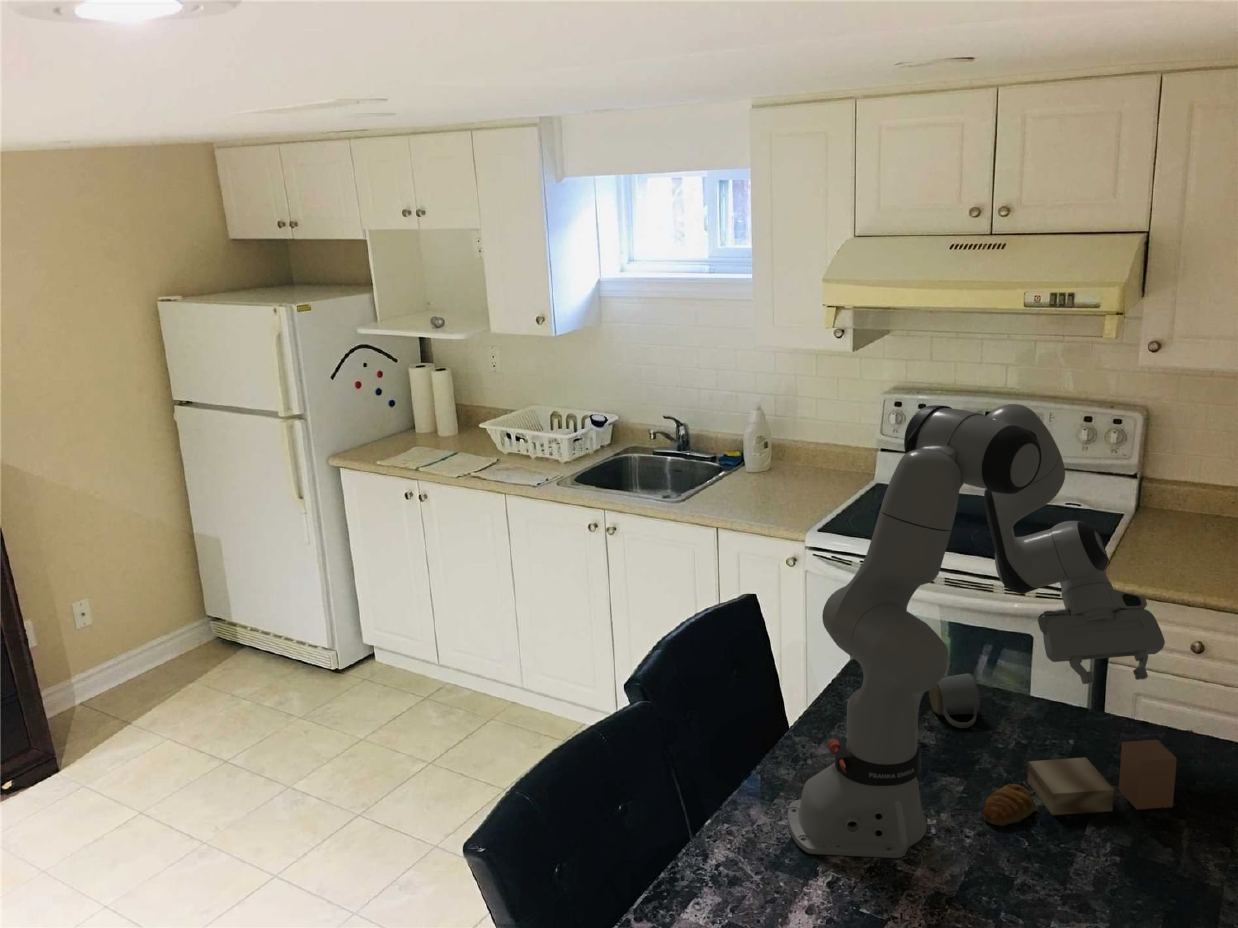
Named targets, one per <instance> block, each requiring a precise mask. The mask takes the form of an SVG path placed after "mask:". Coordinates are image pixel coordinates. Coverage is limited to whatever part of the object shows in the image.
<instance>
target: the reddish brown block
mask: <svg viewBox="0 0 1238 928" xmlns="http://www.w3.org/2000/svg"><path fill="white" fill-rule="evenodd" d="M1119 765H1120V768H1119V782H1118V783H1119V784H1118V790H1119V791H1120V793H1121V794H1122V795H1123V794H1124V795H1125V796H1124V795H1123V796H1124V797H1125V798H1126V799H1127V800H1128V801H1129V803H1130V804H1131V805H1132V806H1133V807H1134V808H1135V809H1136V810H1149V809H1150V810H1151V809H1164V808H1173V807H1174V797H1175V796H1174V795H1175V783H1176V782H1175V781H1176V774H1177V773H1176V772H1177V757H1176V756H1175V755H1174V754H1173V753H1172V752H1171V751H1170V750H1169V749H1168V748H1167V747H1165V745H1163V744H1162V742H1161V741H1159V740H1158V739H1148V740H1147V739H1146V740H1135V741H1133V740H1132V741H1121V750H1120V764H1119ZM1162 807H1163V808H1162Z"/></svg>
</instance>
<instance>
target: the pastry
mask: <svg viewBox="0 0 1238 928" xmlns="http://www.w3.org/2000/svg"><path fill="white" fill-rule="evenodd" d="M1036 809H1037V804H1036V802H1035V799H1034V798H1033V796H1032V795H1031V792H1030V791H1029V790H1028V789H1026V788H1025V787H1024V786H1022V785H1020V784H1015V783H1014V784H1012V783H1008V784H1007V785H1006V784H1005V785H1003V786H1002V787H1001V788H998V789H996V790H995V791H994V792H992V793H991V794H990V795H989V797H988V798H987V799H986V801H985V803H984V808H983V809H982V815H983V820H984V821H985V822H988V823H990V824H992V825H996V826H999V827H1005V826H1007V825H1011V824H1018V823H1021V821H1023V820H1024V819H1026V818H1028V817H1030V816H1031V815H1032V814H1033V813H1034V812H1035V810H1036Z"/></svg>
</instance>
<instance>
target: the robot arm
mask: <svg viewBox="0 0 1238 928" xmlns="http://www.w3.org/2000/svg"><path fill="white" fill-rule="evenodd" d="M903 440H904V441H903V447H904V455H903V456H902V457H901V459H900V460H899V462H898V464H897V466H896V468H895V470H894V472H893V474H892V475H891V478H890V480H889V483H888V486H887V488H886V491H885V494H884V497H883V500H882V503H881V506H880V508H879V509H880V510H879V513H878V516H877V520H876V523H875V526H874V531H873V534H872V537H871V540H870V544H869V546H868V549H867V553H866V554H865V558H864V559H863V562H862V563H861V565H860V567H859V568H858V570H857V572H856V573H855V575H854V576H853V577H852V579H851V580H850V581H849V582H848V583H847V584H846V585H845V586H842V587H841V588H838V589H837V590H835V591H834V592H833V593H831V595H830V596H829V597H828V599H826V602H825V604H824V607H823V609H822V617H821V618H822V624H823V627H824V629H825V630H826V632H827V633H828V635H829V636H830V638H831V640H832V641H833V642H834V643H835V644H836V646H837V647H838V648H839V649H840V650H842V651H843V652H844V653H846V654H847V655H849V656H850V657H851V658H853V659H854V660H855V661H857V662H858V663H859V665H860V667H861V670H862V674H863V676H862V677H863V678H862V680H863V681H862V683H861V684H862V685H861V687H860V688H858V689H857V690H856V691H854V692H853V693H852V694H851V695H850V697H849V698H848V700H847V703H846V740H845V742H844V743H843V744H842V745H840V742H839V740H838V739H836V738H830V739H829V740H828V742H827V744H826V746H827V748H828V750H829V753H830V754H831V755H833V756H834V762H833V763H831V764H830V765H828V766H826V768H824V769H823V770H821V771H820V772H818V773H817V774H815V775H813V776H811V777H810V778H808V780H806V782H805V783H804V786H803V788H802V793H801V797H800V799H796V800H793V801H792V802H791V803H790V804H789V805H788V806H789V807H788V809H787V815H786V816H787V817H786V823H787V827H788V830H789V832H790V835H791V837H792V839H793V841H794V842H795V844H796V845H797V846H798V847H799V848H800V849H801V850H803V851H804V852H806V853H807V854H810V855H825V856H826V855H827V856H829V855H830V856H844V857H845V856H848V857H867V858H886V859H887V858H889V859H900V858H903V857H904V856H905V855H906V853H907V852H908V850H909V848H910V847H912V846H913V845H915V844H917V842H920V840H922V838H923V837H925V835H926V832H927V830H928V826H927V825H928V824H927V821H926V818H925V815H924V812H923V806H922V803H921V796H920V795H921V794H920V789H919V787H920V786H919V781H920V778H921V777H920V776H921V771H922V769H921V766H922V762H921V750H920V747H919V746H918V728H919V727H918V726H919V712H920V711H919V710H920V706H921V702H922V699H923V697H924V694H925V693H926V692H929V690H930V689H932V688H933V687H935V686H936V685H937V684H938V683H939V682H940V681H941V679H942V678H943V677H945V674H946V672H947V670H948V667H949V662H950V655H949V654H950V653H949V649H948V647H947V645H946V644H945V642H944V641H943V640H942V638H941V636H939V634H937V633H936V631H935V630H934V629H933V628H932V627H931V626H930V625H929V624H927V622H925V621H923V620H922V619H920V618H919V617H917V616H915V615H914V614H912V613H911V612H909V611H908V605H909V603H910V600H911V599H912V597H913V595H914V594H915V592H916V591H917V590H918V589H919V587H920V586H923V585H926V584H930V583H931V582H933V581H934V580H936V578H937V577H938V575H939V574H940V571H941V567H942V564H943V560H944V558H945V554H946V550H947V547H948V544H949V540H950V537H951V534H952V530H953V526H954V523H955V518H956V514H957V509H958V503H959V497H960V489H962V487H963V486H964V484H965V485H967V486H971V487H975V488H979V489H984V493H983V494H984V495H983V501H984V508H985V513H986V519H987V523H988V529H989V532H990V536H991V540H992V544H993V548H994V550H995V552H994V565H995V570H996V573H997V577H998V578H999V580H1000V581H1001V583H1002V584H1003V586H1004V587H1005V588H1006V589H1008V590H1010V591H1012V592H1014V593H1017V594H1021V595H1025V594H1027V593H1030V592H1033V591H1036V590H1039V589H1040V588H1044V587H1048V586H1050V585H1055V584H1058V583H1059V584H1060V589H1061V594H1060V595H1061V598H1062V602H1063V605H1064V609H1056V610H1045V611H1043V613H1040V615H1039V616H1038V618H1037V623H1038V627H1039V631H1041V633H1042V636H1043V637H1042V638H1043V645H1044V650H1045V654H1046V657H1047V659H1048V660H1050V661H1051V662H1052V663H1058V662H1069V665H1070V668H1072V669H1073V670H1074V672H1075V673H1077V675H1078V676H1079V677H1080V680H1081V682H1082V684H1083V685H1089V684H1093V683H1094V682H1095V678H1094V676H1093V675H1094V674H1093V671H1091V670H1090V671H1089V670H1087V669H1086V668H1085V667H1084V666H1083V665H1082V664H1081V663H1083V660H1084V661H1085V660H1086V661H1087V660H1097V659H1108V658H1123V657H1134V660H1135V661H1136V662H1138V665H1137V667H1136V668H1135V669H1133V670H1132V673H1133V675H1134V678H1135V680H1137V681H1139V680H1141V681H1142V680H1146V679H1147V678H1148V676H1149V675H1148V673H1147V669H1146V667H1147V663H1148V659H1149V655H1156V654H1159V652H1161V651H1162V650H1163V648H1164V647H1165V644H1166V641H1165V638H1164V634H1163V633H1162V630H1161V629H1162V628H1161V627H1160V625H1159V623H1158V620H1157V619H1156V617H1155V615H1154V614H1153V613H1152V612H1151V611H1150V610H1148V609H1145V608H1146V607H1147V606H1148V602H1147V600H1146V597H1144V596H1143V595H1140V594H1135V593H1129V592H1126V591H1121V590H1118V589H1114V587H1113V584H1112V582H1111V581H1110V579H1109V578H1108V576H1107V572H1106V568H1107V566H1108V563H1109V561H1110V559H1109V557H1108V554H1107V553H1108V552H1107V550H1106V547H1105V545H1104V541H1103V537H1102V534H1101V533H1100V531H1099V529H1097V528H1095V527H1093V526H1092V525H1089V524H1087V523H1085V522H1083V521H1079V520H1066V521H1062V522H1059V523H1057V524H1055V525H1054V526H1052V527H1051V528H1049V529H1045V530H1042V531H1039V532H1035V533H1032V534H1031V533H1030V534H1027V535H1023V536H1015V531H1014V525H1016V523H1018V522H1019V521H1020V520H1021V519H1023V518H1024V517H1026V516H1028V515H1030V514H1031V513H1033V512H1035V511H1036V510H1039V509H1041V508H1043V507H1045V506H1046V505H1048V504H1049V503H1050V502H1051V501H1052V500H1053V499H1055V497H1056V496H1057V495H1058V494H1059V492H1060V490H1061V489H1062V488H1063V485H1064V483H1065V480H1066V469H1065V464H1064V460H1063V457H1062V454H1061V452H1060V449H1059V446H1058V445H1057V443H1056V440H1055V439H1054V437H1053V436H1052V434H1051V432H1050V430H1049V429H1048V427H1047V426H1046V425H1045V424H1044V422H1043V421H1042V420H1041V419H1040V417H1039V416H1038V414H1036V412H1034V410H1032V409H1031V408H1029V407H1028V406H1025V405H1022V404H1017V403H1010V404H1009V403H1008V404H1004V405H1000V406H998V407H996V408H994V409H993V410H992V411H990V412H989V413H988V414H987V415H984V414H982V413H979V412H975V411H970V410H966V409H958V408H952V407H951V406H950V405H949V406H948V405H940V404H937V405H926V406H923V407H922V408H920V409H919V410H918V411H917V412H916V413H915V414H914V415H913V416H912V417H911V419H910V420H909V422H908V424H907V427H906V428H905V433H904V438H903Z"/></svg>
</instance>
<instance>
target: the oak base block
mask: <svg viewBox="0 0 1238 928" xmlns="http://www.w3.org/2000/svg"><path fill="white" fill-rule="evenodd" d="M1027 765H1028V766H1027V767H1028V768H1027V769H1028V770H1027V783H1028V785H1029V786H1030V787H1031V789H1032V790H1033V791H1034V793H1035V794H1036V795H1037V797H1038V798H1039V799H1040V800H1041V802H1042V803H1043V805H1044V806H1045V807H1046V809H1047V810H1048V811H1049V813H1050V814H1051V815H1052V816H1061V815H1062V816H1063V815H1073V814H1074V815H1075V814H1089V813H1101V812H1102V813H1104V812H1113V811H1114V795H1115V789H1114V787H1112V786H1111V784H1110V783H1109V782H1108V781H1107V780H1106V778H1105V777H1104V776H1103V775H1102V774H1101V773H1100V772H1099V771H1098V769H1097V768H1096V766H1094V764H1092V762H1090V760H1089V759H1088V758H1087V757H1086V756H1085V757H1072V758H1060V759H1059V758H1058V759H1047V760H1046V759H1043V760H1031V761H1028V764H1027Z"/></svg>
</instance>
